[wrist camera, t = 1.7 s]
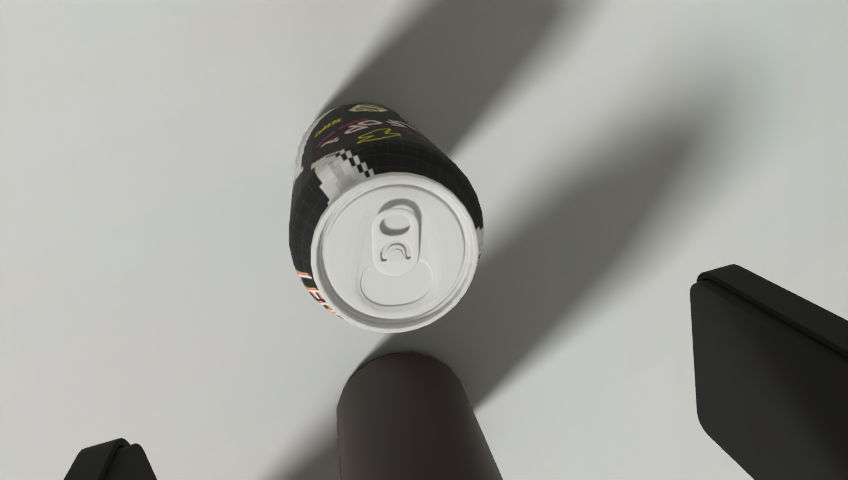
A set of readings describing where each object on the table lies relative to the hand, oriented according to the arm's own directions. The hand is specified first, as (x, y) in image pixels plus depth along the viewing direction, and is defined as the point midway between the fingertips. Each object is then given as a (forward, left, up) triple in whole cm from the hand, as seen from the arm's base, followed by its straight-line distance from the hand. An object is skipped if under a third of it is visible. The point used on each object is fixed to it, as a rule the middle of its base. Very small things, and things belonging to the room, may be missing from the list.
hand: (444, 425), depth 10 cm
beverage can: (0, 0, -19) cm, 19 cm away
